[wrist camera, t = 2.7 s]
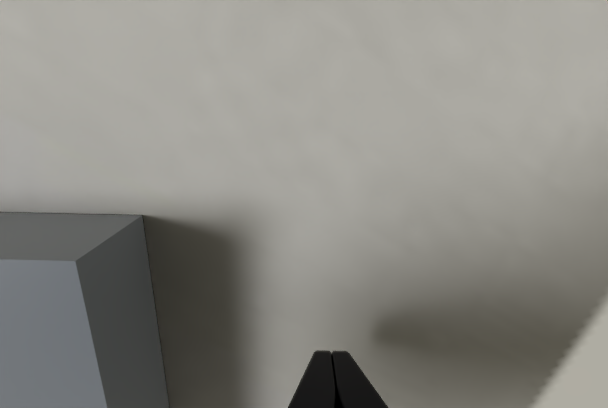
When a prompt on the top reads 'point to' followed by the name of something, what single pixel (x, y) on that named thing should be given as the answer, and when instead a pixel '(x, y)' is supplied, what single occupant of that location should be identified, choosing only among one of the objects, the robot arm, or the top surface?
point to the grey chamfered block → (77, 313)
